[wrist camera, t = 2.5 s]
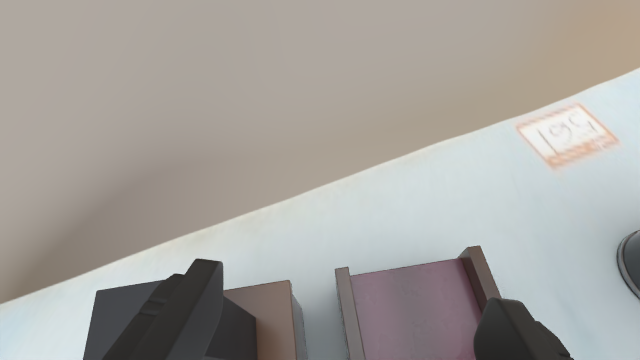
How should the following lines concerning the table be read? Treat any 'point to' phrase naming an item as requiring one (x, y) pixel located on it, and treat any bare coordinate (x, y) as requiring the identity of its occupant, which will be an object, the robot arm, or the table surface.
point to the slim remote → (125, 302)
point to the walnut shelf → (273, 319)
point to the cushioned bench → (416, 309)
